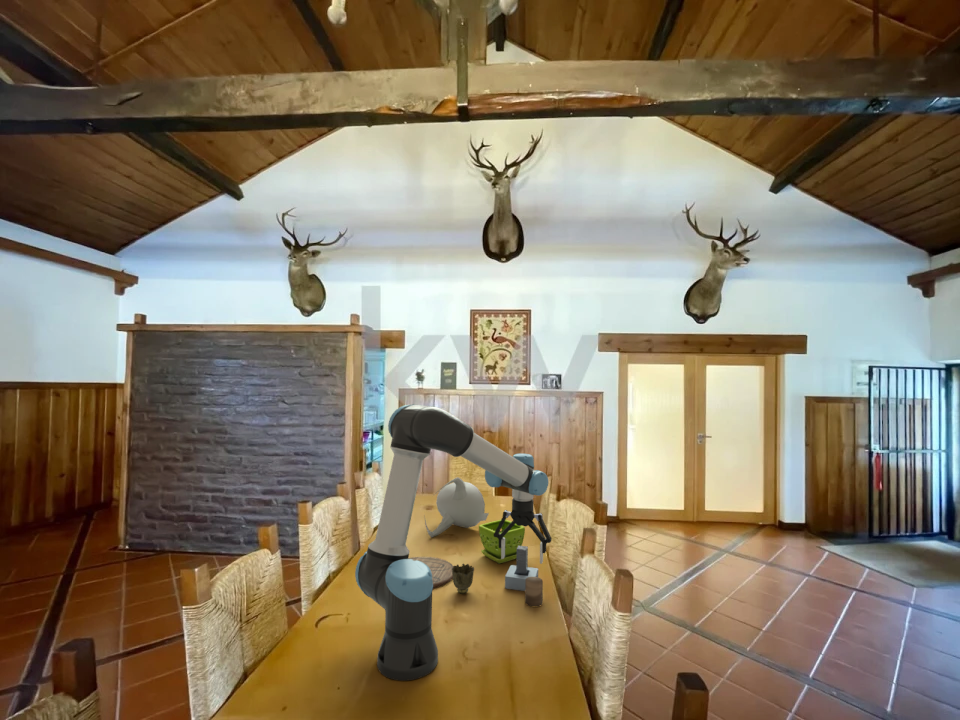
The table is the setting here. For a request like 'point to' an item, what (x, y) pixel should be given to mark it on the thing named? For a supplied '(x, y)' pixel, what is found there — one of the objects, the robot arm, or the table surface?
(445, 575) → the trivet
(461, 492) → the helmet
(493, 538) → the flower pot
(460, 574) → the ornate candle holder
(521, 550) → the square bit
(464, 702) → the table surface
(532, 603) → the brown short cylinder
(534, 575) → the bore block
